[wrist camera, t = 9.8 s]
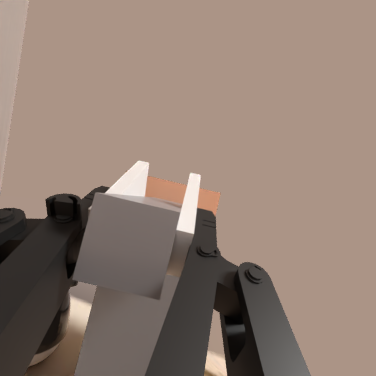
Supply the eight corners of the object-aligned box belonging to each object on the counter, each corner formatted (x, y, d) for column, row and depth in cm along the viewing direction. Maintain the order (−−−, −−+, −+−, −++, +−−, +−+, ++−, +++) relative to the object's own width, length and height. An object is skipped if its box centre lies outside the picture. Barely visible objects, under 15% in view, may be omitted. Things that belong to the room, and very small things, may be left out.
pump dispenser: (30, 390, 29) (58, 288, 30) (-31, 369, 30) (-2, 270, 31) (74, 342, 40) (94, 267, 41) (28, 327, 41) (48, 254, 41)
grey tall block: (166, 466, 25) (214, 251, 26) (57, 440, 25) (112, 227, 26) (172, 379, 37) (205, 235, 38) (98, 362, 37) (134, 218, 38)
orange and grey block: (248, 385, 7) (290, 179, 7) (-48, 316, 6) (12, 113, 7) (199, 243, 28) (210, 195, 28) (130, 227, 28) (142, 178, 28)
